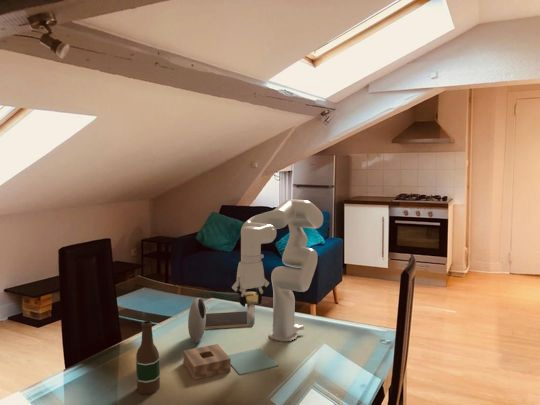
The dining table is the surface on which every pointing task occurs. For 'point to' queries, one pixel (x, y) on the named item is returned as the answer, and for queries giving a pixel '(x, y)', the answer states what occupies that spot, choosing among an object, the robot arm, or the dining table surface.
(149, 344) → the beer bottle
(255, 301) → the pin
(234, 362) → the mat
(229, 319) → the hardcover book
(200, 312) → the planter
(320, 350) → the dining table surface
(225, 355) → the block
